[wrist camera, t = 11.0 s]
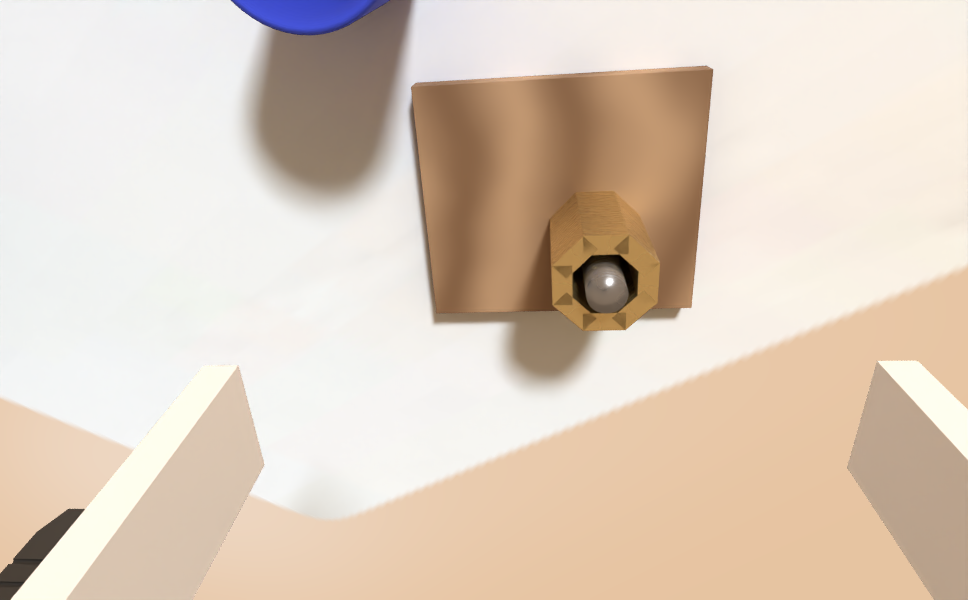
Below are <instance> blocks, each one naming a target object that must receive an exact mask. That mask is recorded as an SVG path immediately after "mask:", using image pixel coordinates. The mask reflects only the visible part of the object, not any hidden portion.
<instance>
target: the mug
mask: <svg viewBox="0 0 968 600" xmlns="http://www.w3.org/2000/svg"><path fill="white" fill-rule="evenodd" d="M231 1H232V2H233V3H234V4H235V5H236V6H238V7H239V8H240V9H241V10H242V11H243V12H245V13H246V14H248V15H249V16H250V17H252V18H253V19H255V20H257V21H259V22H260V23H262V24H264V25H266V26H269V27H271V28H273V29H276V30H279V31H282V32H286V33H291V34H297V35H319V34H325V33H330V32H333V31H336V30H339V29H342V28H344V27H346V26H348V25H350V24H352V23H353V22H355V21H357V20H358V19H360V18H362V17H363V16H365V15H367V14H368V13H370V12H372V11H373V10H375V9H377V8H378V7H380V6H382V5H383V4H385V3H387V2H388V1H390V0H231Z"/></svg>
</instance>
